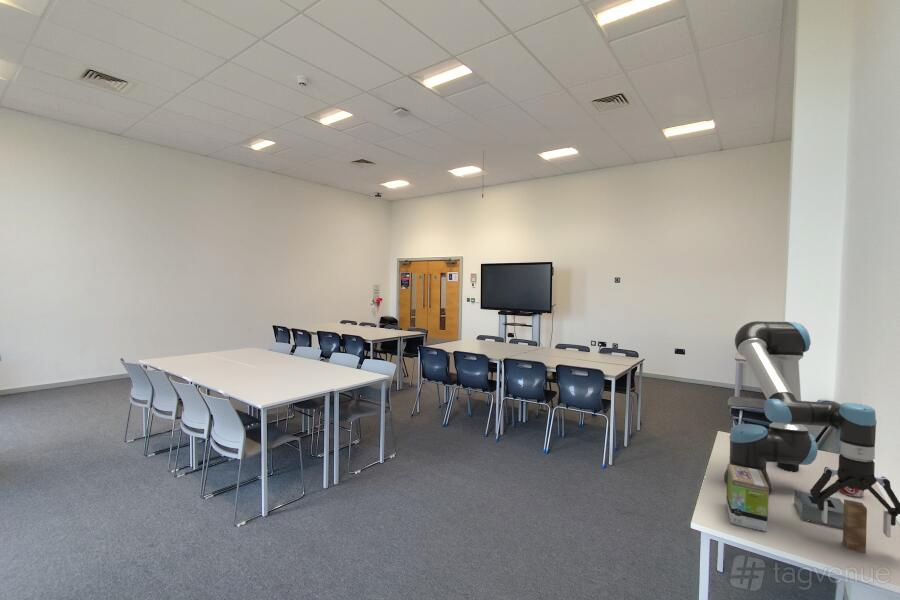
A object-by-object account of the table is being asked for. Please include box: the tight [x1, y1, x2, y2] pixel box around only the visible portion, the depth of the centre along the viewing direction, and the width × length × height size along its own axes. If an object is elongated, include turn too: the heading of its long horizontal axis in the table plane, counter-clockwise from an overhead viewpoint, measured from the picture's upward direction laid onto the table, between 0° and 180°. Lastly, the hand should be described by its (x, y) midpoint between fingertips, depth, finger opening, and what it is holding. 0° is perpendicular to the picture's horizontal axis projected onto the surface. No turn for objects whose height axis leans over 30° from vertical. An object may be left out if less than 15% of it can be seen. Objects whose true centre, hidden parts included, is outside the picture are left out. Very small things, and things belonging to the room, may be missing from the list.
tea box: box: [725, 463, 770, 532], centre depth 137 cm, size 15×10×15 cm, turn 151°
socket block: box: [793, 489, 844, 530], centre depth 138 cm, size 12×12×5 cm
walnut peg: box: [842, 498, 868, 554], centre depth 121 cm, size 4×4×13 cm
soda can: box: [837, 466, 865, 498], centre depth 154 cm, size 7×7×12 cm
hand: (854, 528), depth 121 cm, fingers open, 13 cm apart
